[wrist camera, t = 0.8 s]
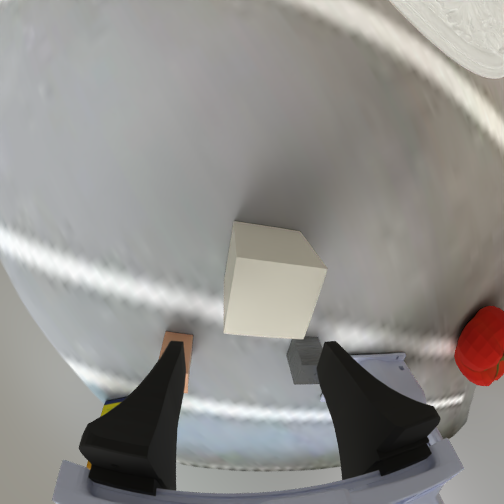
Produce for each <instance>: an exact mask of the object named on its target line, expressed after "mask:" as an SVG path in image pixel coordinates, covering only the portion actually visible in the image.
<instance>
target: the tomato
mask: <svg viewBox="0 0 504 504" xmlns="http://www.w3.org/2000/svg"><path fill="white" fill-rule="evenodd" d="M454 357H455V361H456V364H457V366H458V367H459V369H460V371H461V372H462V374H463V375H464V376H465V377H466V378H467V379H468V380H469V381H471V382H473V383H475V384H477V385H480V386H489V385H490V384H491V383H492V382H493V381H494V380H498V379H499V378H500V377H501V376H502V375H503V374H504V311H503V310H501V309H500V308H497V307H495V306H487V307H484V308H482V309H480V310H479V311H478V312H477V314H476V315H475V317H474V318H473V319H472V320H471V321H470V322H468V324H467V325H466V326H465V328H464V329H463V331H462V333H461V335H460V337H459V339H458V345H457V347H456V350H455V355H454Z"/></svg>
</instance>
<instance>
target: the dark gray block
mask: <svg viewBox="0 0 504 504" xmlns="http://www.w3.org/2000/svg"><path fill="white" fill-rule="evenodd" d="M322 349H323V348H322V346H321V343H320V341H319V339H318V337H304V339H292V341H291V344H290V347H289V350H288V352H287V355H286V356H287V359H288V363H289V367H290V371H291V374H292V378H293V382H294V384H319V379H318V375H317V370H316V368H317V365H318V362H319V359H320V356H321V352H322Z"/></svg>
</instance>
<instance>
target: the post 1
mask: <svg viewBox="0 0 504 504" xmlns="http://www.w3.org/2000/svg"><path fill="white" fill-rule="evenodd" d="M170 341H183V342H184V353H185V363H186V378H185V388H184V393H188V383H189V374H190V365H191V357H192V344H193V335H188V334H181V333H174V332H167V331H166V333H165V336H164V340H163V344H162V348H161V352H160V356H159V359H160V357H161V356H162V354H163V353H164V351H165V349H166V348H167V346H168V344H169V342H170Z"/></svg>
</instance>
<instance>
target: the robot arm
mask: <svg viewBox="0 0 504 504" xmlns="http://www.w3.org/2000/svg"><path fill="white" fill-rule="evenodd" d="M405 357H406V354H405V353H391V354H373V355H349V354H348V353H347V352H346V351H345V350H344V349H343V348H342V347H341V346H340V345H339V344H338V343H337V342H336V341H330V342H325V343H324V346H323V349H322V352H321V356H320V359H319V362H318V365H317V368H316V370H317V375H318V379H319V384H320V387H321V390H322V393H323V394H322V395H321V397H320V401H322V402H326V403H327V406H328V409H329V412H330V414H331V417H332V420H333V424H334V428H335V432H336V437H337V442H338V448H339V454H340V461H341V471H342V480H341V481H337V482H332V483H328V484H323V485H318V486H311V487H305V488H299V489H291V490H283V491H273V492H262V493H261V492H260V493H236V494H223V493H218V494H217V493H197V492H183V491H176V443H177V427H178V420H179V415H180V409H181V404H182V399H183V394H184V388H185V378H186V363H185V353H184V342H183V341H170V342H169V344H168V346H167V348H166V349H165V351H164V353H163V354H162V356H161V357H160V359H159V360H158V362H157V363H156V365H155V366H154V367H153V369H152V370H151V371H150V373H149V374H148V375H147V376H146V378H145V379H144V380H143V381H142V382H141V384H140V385H139V386H138V387H137V388H136V389H135V390H134V391H133V392H132V393H131V394H130V395H129V396H128V397H127V398H125V399H124V400H123V401H122V402H121V403H120V404H118V405H117V406H116V407H114V408H113V409H112V410H110V411H109V412H107V413H106V414H104V415H103V416H101V417H100V418H98V419H96V420H94V421H93V422H91V423H89V424H88V425H87V427H86V429H85V431H84V433H83V435H82V439H81V442H80V445H79V450H80V452H81V453H82V454H83V455H84V457H85V458H86V459H87V460H88V461H89V462H90V463H91V464H92V465H91V469H88V468H86V467H84V466H81V465H78V464H75V463H72V462H69V461H67V460H63V461H62V464H61V468H60V471H59V475H58V478H57V482H56V486H55V490H54V494H53V498H52V500H53V502H55V503H56V504H444V503H443V500H442V499H441V497H440V495H439V491H440V490H441V488H442V487H443V485H444V484H445V483H446V482H448V481H449V480H450V479H451V478H453V477H454V476H456V475H457V474H458V473H460V472H461V471H462V470H464V467H463V465H462V463H461V461H460V459H459V457H458V456H457V454H456V452H455V450H454V448H453V446H452V444H451V443H450V441H449V439H448V438H446V439H444V440H443V438H442V436H441V434H440V432H439V431H438V429H437V427H436V426H437V425H438V424H439V422H440V416H439V415H438V413H437V411H436V410H435V408H434V407H433V406H430V405H427V404H426V397H425V394H424V391H423V390H422V388H421V386H420V385H419V383H418V382H417V380H416V379H415V377H414V375H413V374H412V372H411V371H410V369H409V368H408V366H407V365H406V363H405V362H404V359H405Z"/></svg>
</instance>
